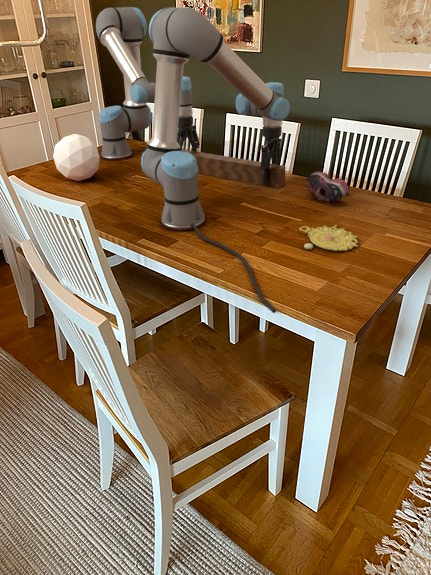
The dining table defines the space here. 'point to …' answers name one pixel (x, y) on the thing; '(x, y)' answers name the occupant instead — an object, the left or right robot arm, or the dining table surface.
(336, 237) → the decorative object
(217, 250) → the dining table surface
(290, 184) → the dining table surface
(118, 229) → the dining table surface
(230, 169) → the beam
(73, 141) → the sphere
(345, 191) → the athletic shoe
